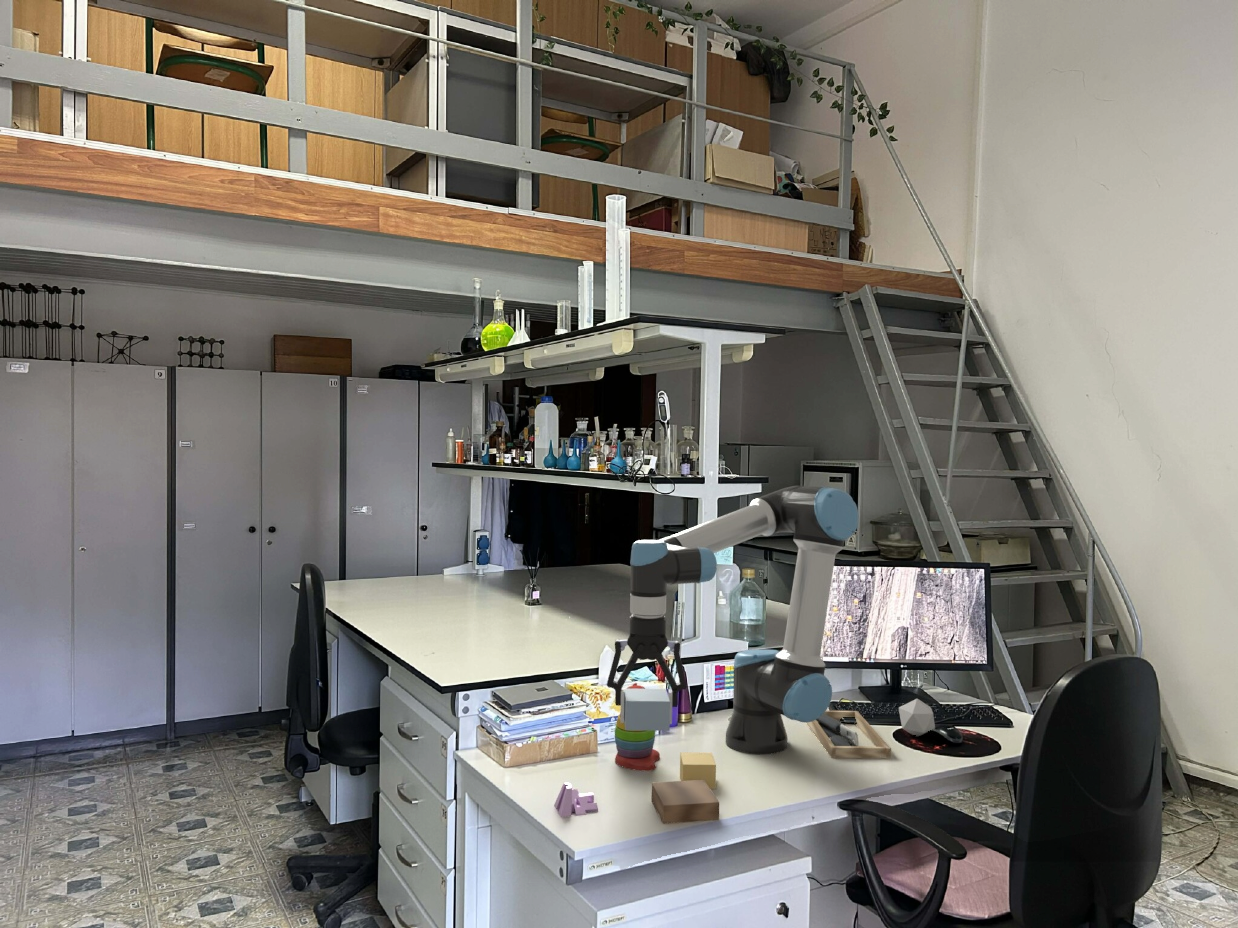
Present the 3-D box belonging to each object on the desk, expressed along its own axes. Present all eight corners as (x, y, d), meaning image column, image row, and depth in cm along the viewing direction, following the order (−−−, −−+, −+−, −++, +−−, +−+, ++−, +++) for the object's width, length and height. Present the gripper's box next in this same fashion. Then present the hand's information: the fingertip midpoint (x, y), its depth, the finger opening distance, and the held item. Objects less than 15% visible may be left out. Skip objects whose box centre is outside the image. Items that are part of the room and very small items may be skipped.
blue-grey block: (665, 716, 182) (665, 688, 182) (669, 730, 173) (670, 701, 173) (623, 716, 182) (624, 688, 182) (625, 730, 173) (626, 700, 173)
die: (937, 735, 218) (938, 696, 218) (929, 745, 210) (930, 705, 210) (903, 729, 222) (904, 691, 222) (894, 738, 215) (895, 699, 215)
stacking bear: (653, 772, 190) (655, 693, 190) (609, 768, 192) (610, 690, 192) (661, 755, 201) (662, 680, 200) (619, 751, 203) (620, 677, 202)
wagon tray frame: (857, 721, 227) (857, 710, 227) (890, 760, 199) (890, 748, 199) (804, 721, 227) (805, 710, 227) (831, 759, 199) (831, 747, 199)
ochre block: (711, 779, 187) (712, 752, 187) (715, 792, 180) (715, 764, 180) (679, 779, 187) (680, 752, 187) (682, 792, 180) (683, 764, 180)
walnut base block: (703, 803, 175) (703, 779, 175) (718, 827, 164) (719, 801, 164) (651, 806, 173) (651, 782, 173) (663, 831, 162) (663, 805, 162)
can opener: (865, 754, 204) (865, 733, 204) (840, 755, 203) (841, 734, 203) (827, 728, 223) (827, 708, 223) (805, 729, 221) (805, 710, 221)
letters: (590, 804, 173) (591, 775, 173) (599, 818, 167) (599, 788, 167) (552, 808, 171) (552, 779, 171) (559, 823, 164) (559, 792, 164)
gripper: (699, 612, 180) (697, 716, 181) (596, 609, 181) (594, 714, 182) (701, 619, 173) (699, 728, 173) (594, 616, 174) (592, 725, 174)
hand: (646, 721), depth 177 cm, fingers closed on blue-grey block, 9 cm apart
